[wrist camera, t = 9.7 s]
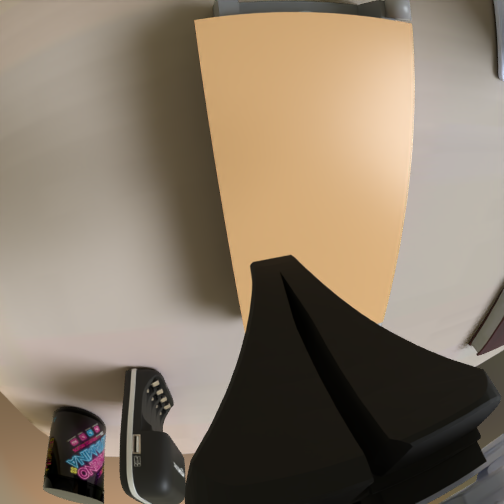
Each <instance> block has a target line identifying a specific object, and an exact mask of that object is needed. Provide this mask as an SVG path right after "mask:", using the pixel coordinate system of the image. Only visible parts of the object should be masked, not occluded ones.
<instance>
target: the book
mask: <svg viewBox="0 0 504 504" xmlns="http://www.w3.org/2000/svg"><path fill="white" fill-rule="evenodd" d="M469 345H470V346H471V345H472V346H473V347H474V348H475V349H476V351H477V352H478V353H477V356H478V355H482V354H484V353H487V352H489V351H492V350H494V349H496V348H498V347H500V346H502V345H504V289H503V290H502V291H501V293H500V295H499V296H498V298H497V300H496V301H495V303H494V305H493V306H492V308H491V310H490V311H489V313H488V314H487V316H486V318H485V319H484V321H483V322H482V324H481V325H480V327H479V328H478V330H477V332H476V333H475V335H474V336H473V338H472V339H471V341H470V343H469Z"/></svg>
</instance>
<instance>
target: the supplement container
mask: <svg viewBox="0 0 504 504" xmlns="http://www.w3.org/2000/svg"><path fill="white" fill-rule="evenodd" d="M105 440H106V426H105V424H104V422H103V421H102V420H101V419H100V418H99V417H98V416H96V415H95V414H93V413H91V412H88V411H86V410H83V409H79V408H74V407H61V408H59V409H57V410H56V411H55V412H54V414H53V418H52V424H51V430H50V436H49V444H48V451H47V458H46V467H45V475H44V485H43V489H44V490H45V491H46V492H48V493H50V494H52V495H54V496H57V497H60V498H63V499H66V500H69V501H73V502H78V503H83V504H104V458H105Z"/></svg>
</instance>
